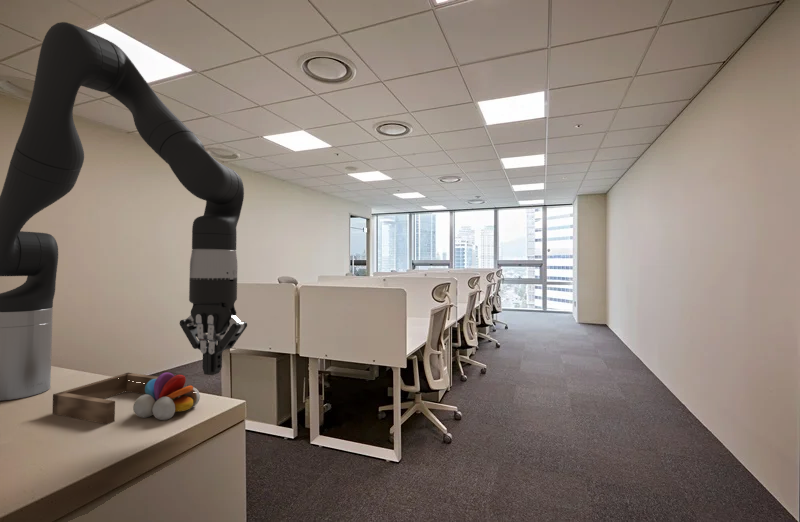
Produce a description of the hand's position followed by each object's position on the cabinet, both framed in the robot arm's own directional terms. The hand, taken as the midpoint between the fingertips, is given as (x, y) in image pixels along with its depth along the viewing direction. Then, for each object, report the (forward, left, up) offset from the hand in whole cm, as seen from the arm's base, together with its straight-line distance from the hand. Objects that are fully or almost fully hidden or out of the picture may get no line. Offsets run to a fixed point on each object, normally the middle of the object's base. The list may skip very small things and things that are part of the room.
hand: (212, 373), depth 63 cm
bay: (-21, 0, -8) cm, 23 cm away
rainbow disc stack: (-10, +1, -9) cm, 13 cm away
